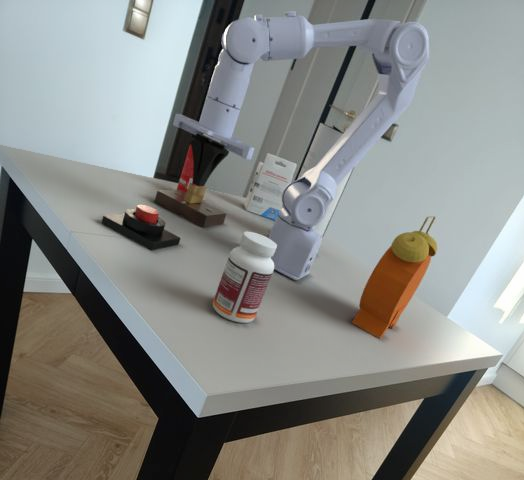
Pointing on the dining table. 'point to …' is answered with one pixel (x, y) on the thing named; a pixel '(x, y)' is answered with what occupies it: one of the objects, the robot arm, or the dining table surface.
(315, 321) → the dining table surface
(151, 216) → the bell button
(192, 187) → the lock knob
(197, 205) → the plate
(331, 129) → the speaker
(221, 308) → the pill bottle
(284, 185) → the ink box
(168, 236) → the box
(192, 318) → the dining table surface
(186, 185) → the beverage can
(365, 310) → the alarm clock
